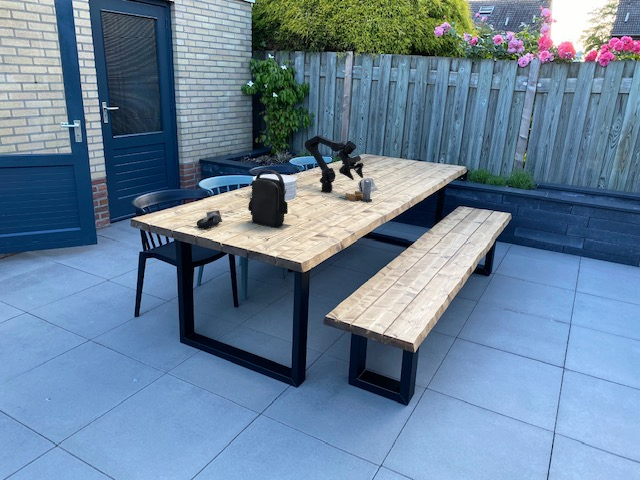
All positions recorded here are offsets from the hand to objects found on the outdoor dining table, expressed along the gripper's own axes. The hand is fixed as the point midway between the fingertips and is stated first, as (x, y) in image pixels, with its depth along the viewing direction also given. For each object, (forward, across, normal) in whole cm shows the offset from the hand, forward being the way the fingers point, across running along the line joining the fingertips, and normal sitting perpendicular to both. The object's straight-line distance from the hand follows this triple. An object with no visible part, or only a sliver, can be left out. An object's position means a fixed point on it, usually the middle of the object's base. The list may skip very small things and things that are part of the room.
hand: (358, 178), depth 304 cm
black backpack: (+14, -79, +4) cm, 80 cm away
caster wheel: (+4, -106, +15) cm, 107 cm away
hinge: (+2, +24, +17) cm, 30 cm away
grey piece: (+15, 0, +4) cm, 15 cm away
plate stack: (-18, -36, +37) cm, 54 cm away
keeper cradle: (+7, 0, +11) cm, 13 cm away
